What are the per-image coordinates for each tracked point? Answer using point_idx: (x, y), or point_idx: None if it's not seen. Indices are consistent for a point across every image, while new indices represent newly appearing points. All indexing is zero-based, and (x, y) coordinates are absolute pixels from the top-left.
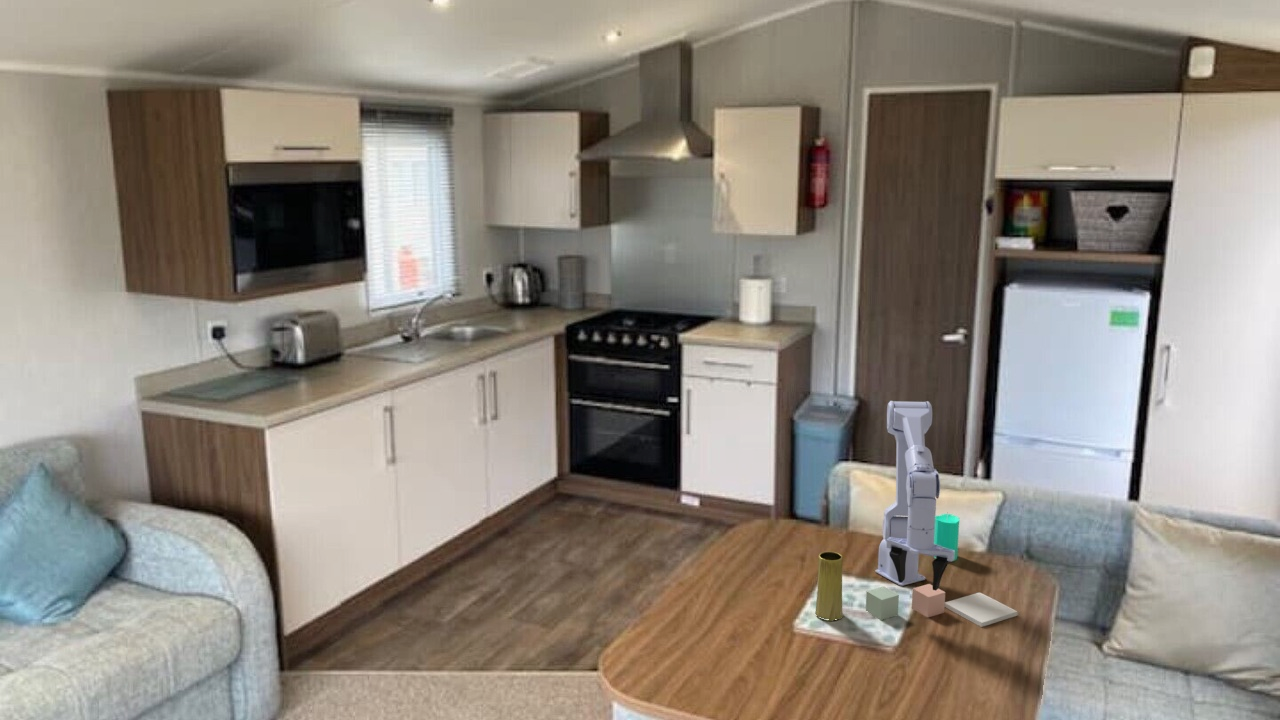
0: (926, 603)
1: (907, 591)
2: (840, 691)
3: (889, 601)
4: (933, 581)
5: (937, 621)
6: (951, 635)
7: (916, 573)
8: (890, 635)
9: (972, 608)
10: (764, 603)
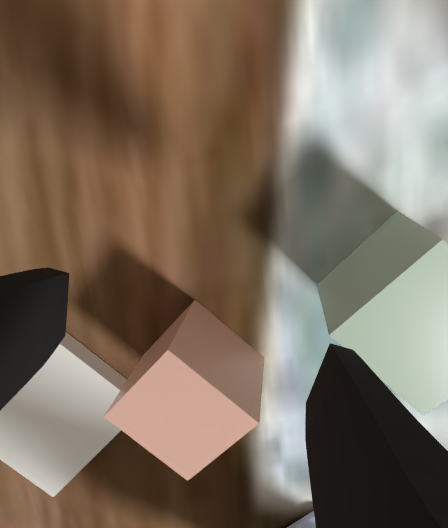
0: (188, 335)
1: (292, 478)
2: None
3: (379, 276)
4: (5, 292)
5: (153, 278)
6: (79, 172)
7: None
8: (343, 58)
9: (44, 387)
10: None
